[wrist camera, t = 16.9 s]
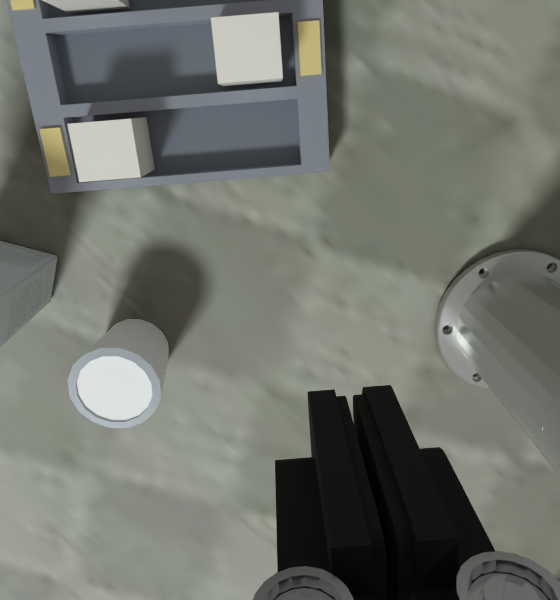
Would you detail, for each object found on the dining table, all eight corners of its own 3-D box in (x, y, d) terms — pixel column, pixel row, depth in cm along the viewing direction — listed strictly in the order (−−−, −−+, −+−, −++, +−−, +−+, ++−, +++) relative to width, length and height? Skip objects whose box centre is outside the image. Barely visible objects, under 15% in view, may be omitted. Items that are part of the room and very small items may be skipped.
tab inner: (146, 117, 37) (130, 118, 32) (154, 169, 38) (140, 177, 34) (90, 121, 37) (67, 123, 33) (100, 173, 38) (79, 182, 34)
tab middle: (277, 23, 35) (278, 12, 31) (281, 81, 36) (282, 78, 32) (217, 28, 35) (210, 17, 31) (223, 86, 36) (217, 83, 32)
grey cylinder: (170, 389, 46) (154, 436, 40) (92, 376, 46) (63, 421, 39) (182, 320, 44) (167, 357, 38) (100, 304, 43) (70, 339, 37)
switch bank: (314, -82, 34) (319, -100, 31) (325, 166, 40) (330, 171, 37) (12, -57, 34) (-12, -72, 31) (66, 187, 40) (49, 194, 37)
